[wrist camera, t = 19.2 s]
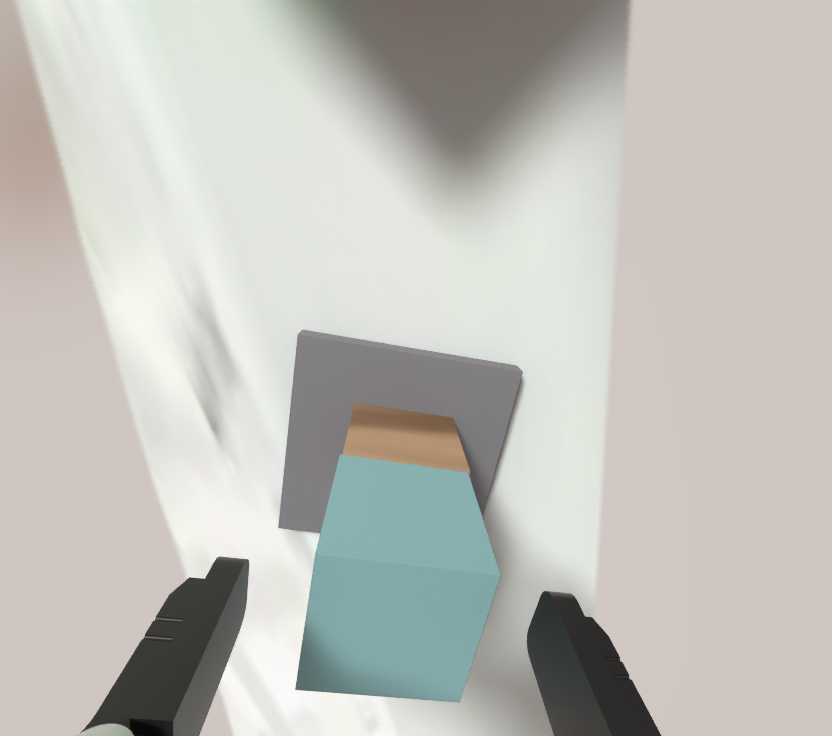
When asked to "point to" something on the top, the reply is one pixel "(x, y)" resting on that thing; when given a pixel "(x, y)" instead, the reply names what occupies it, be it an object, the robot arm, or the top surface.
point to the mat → (392, 388)
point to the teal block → (397, 583)
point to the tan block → (404, 438)
